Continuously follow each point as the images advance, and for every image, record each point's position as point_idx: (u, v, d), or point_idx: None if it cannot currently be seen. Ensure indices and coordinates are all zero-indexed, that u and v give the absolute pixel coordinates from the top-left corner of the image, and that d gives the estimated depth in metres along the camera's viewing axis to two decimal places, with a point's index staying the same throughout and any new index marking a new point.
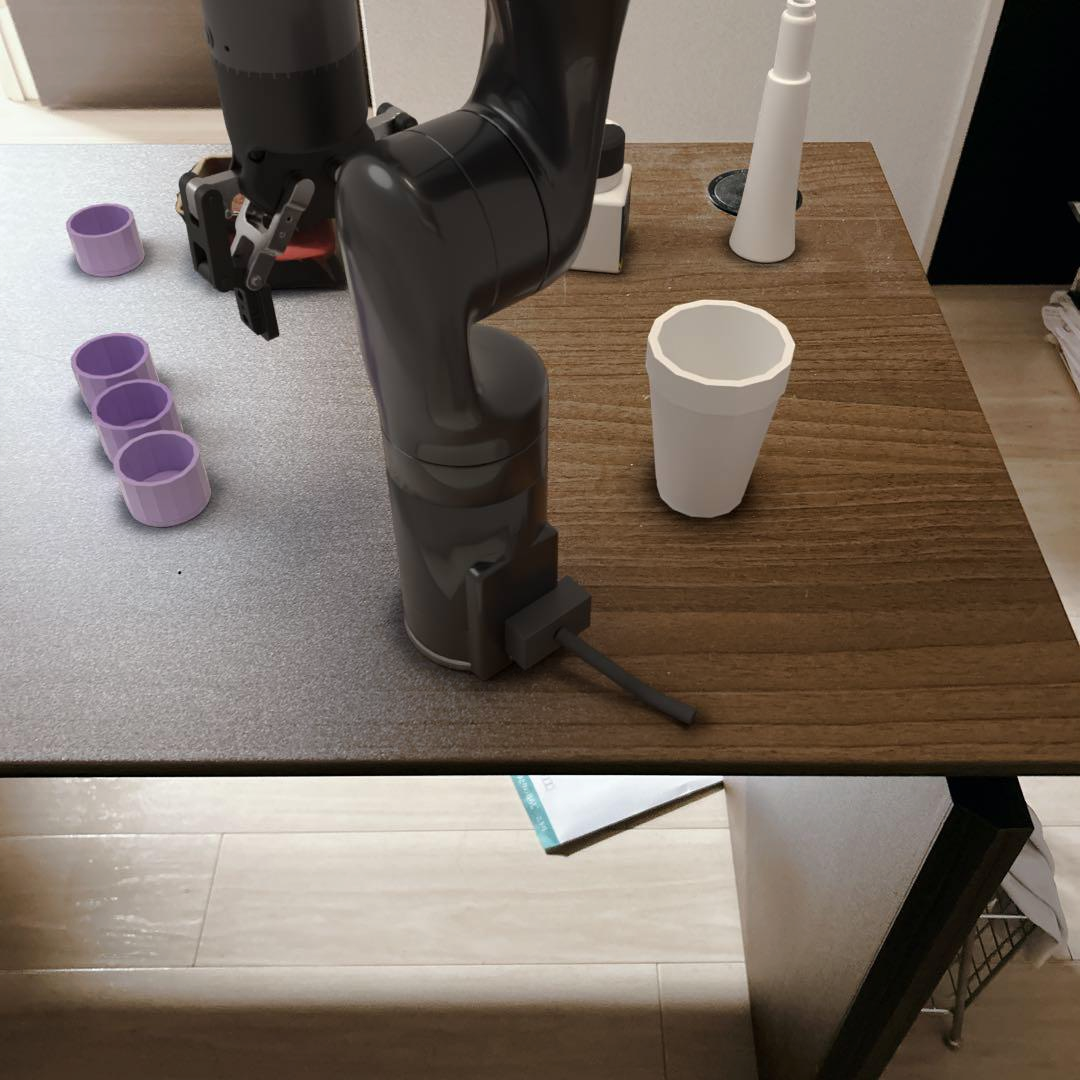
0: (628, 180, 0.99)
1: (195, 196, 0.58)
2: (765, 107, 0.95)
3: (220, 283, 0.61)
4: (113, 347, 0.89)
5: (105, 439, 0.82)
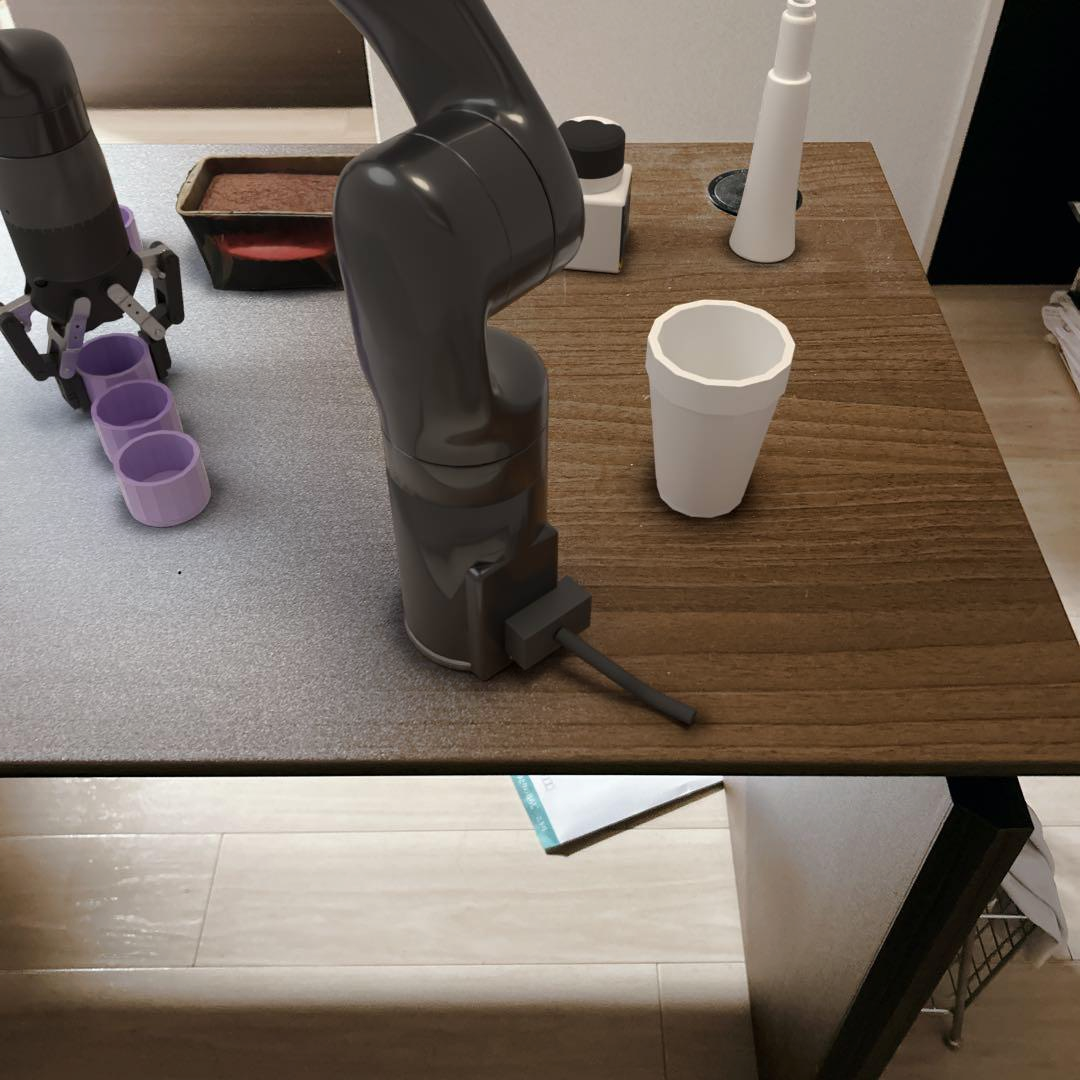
0: (628, 180, 0.99)
1: None
2: (765, 107, 0.95)
3: (37, 375, 0.82)
4: (113, 347, 0.89)
5: (105, 439, 0.82)
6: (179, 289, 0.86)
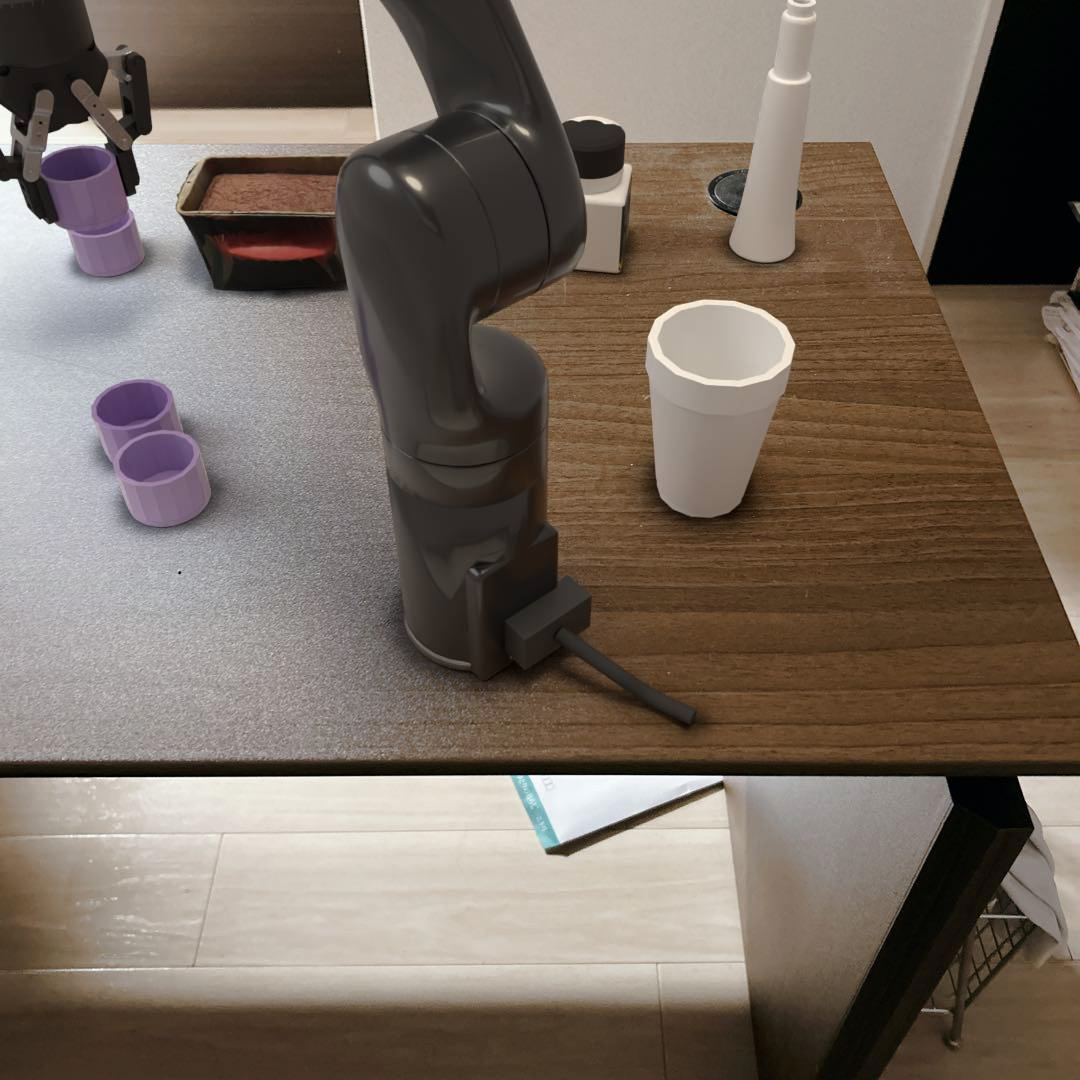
0: (628, 180, 0.99)
1: None
2: (765, 107, 0.95)
3: (0, 174, 0.81)
4: (80, 161, 0.87)
5: (105, 439, 0.82)
6: (146, 95, 0.84)
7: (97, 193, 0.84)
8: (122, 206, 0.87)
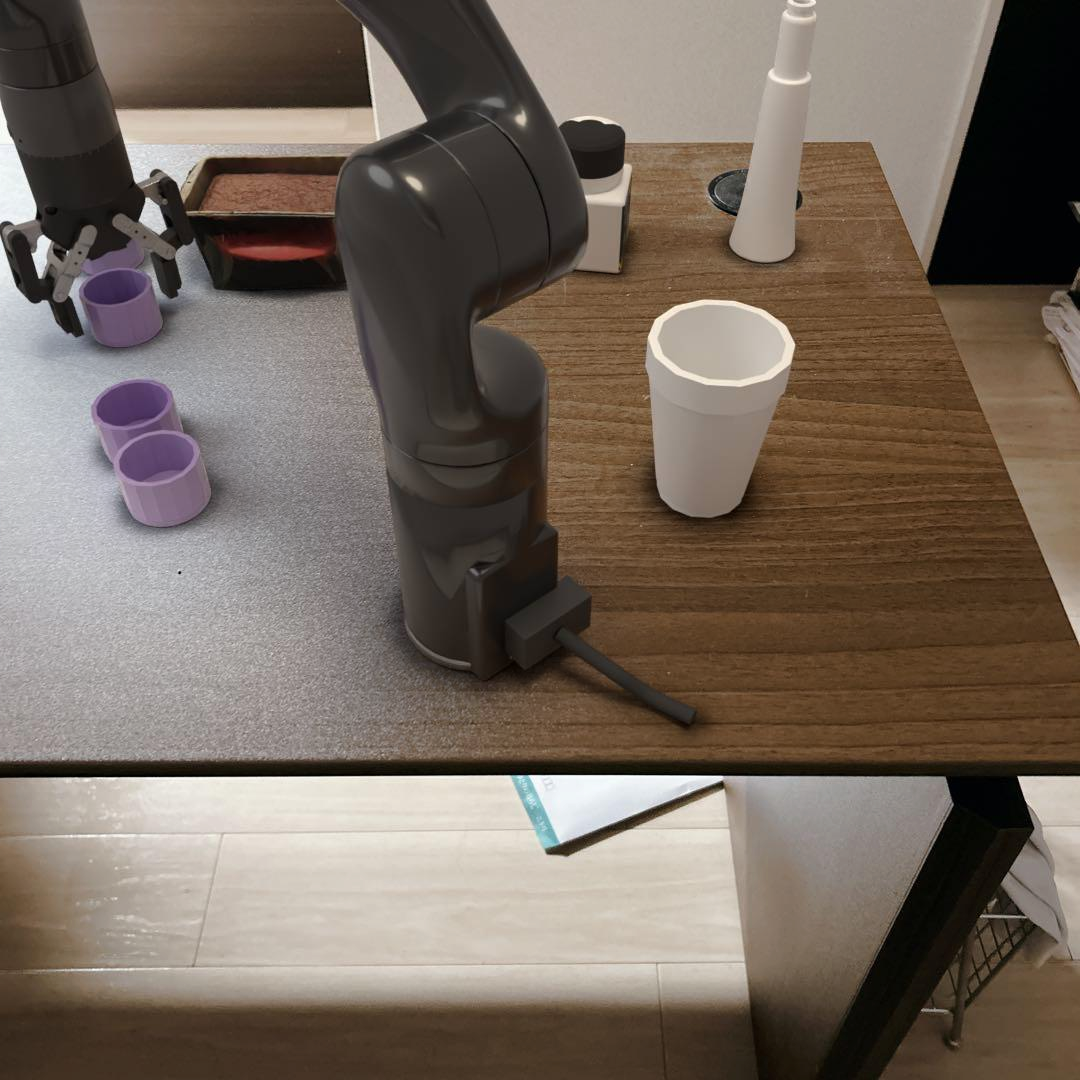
0: (628, 180, 0.99)
1: (7, 238, 0.84)
2: (765, 107, 0.95)
3: (32, 297, 0.87)
4: (118, 281, 0.95)
5: (105, 439, 0.82)
6: (183, 212, 0.92)
7: (135, 314, 0.92)
8: (157, 323, 0.95)
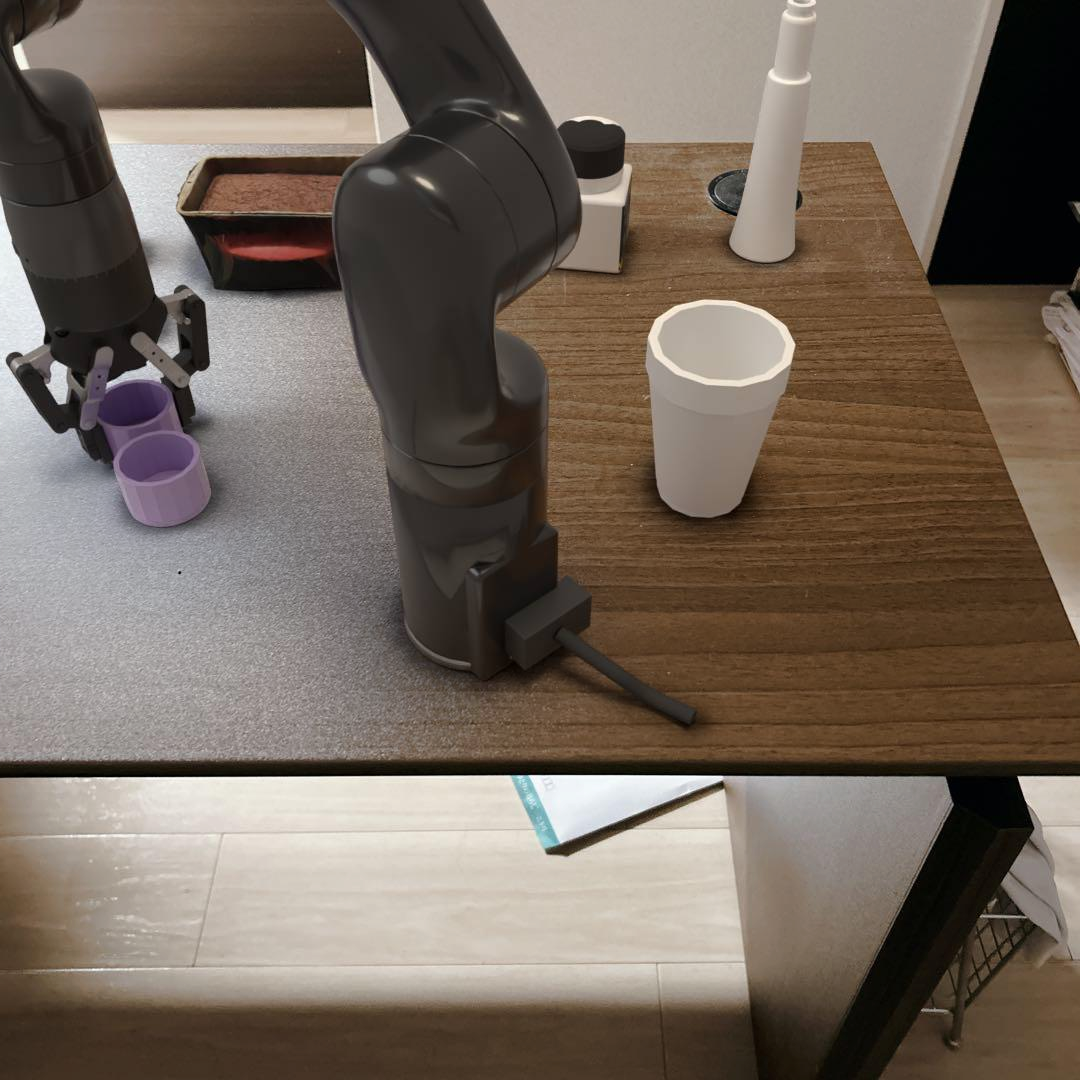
0: (628, 180, 0.99)
1: (16, 375, 0.75)
2: (765, 107, 0.95)
3: (57, 427, 0.78)
4: None
5: None
6: (205, 335, 0.82)
7: None
8: None
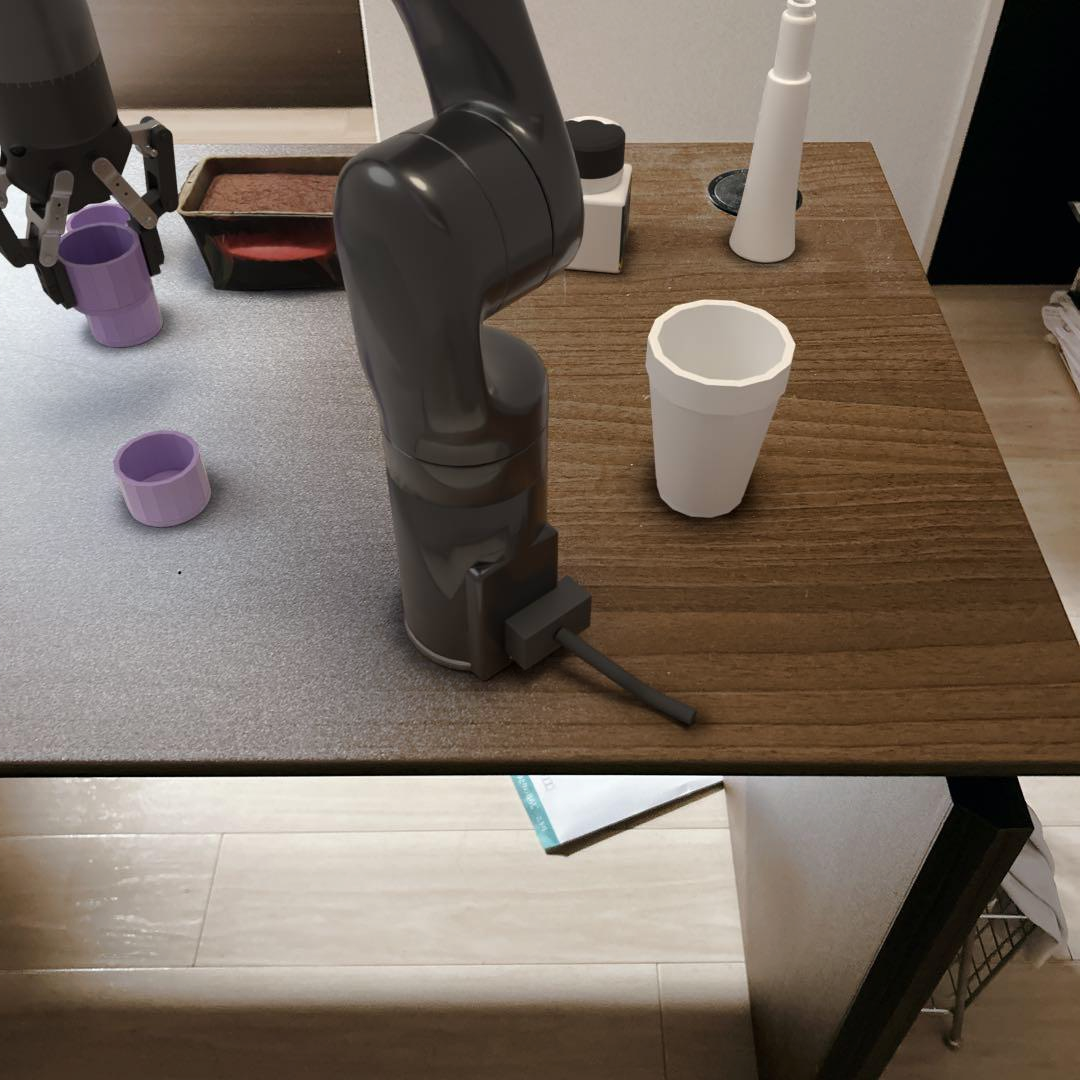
0: (628, 180, 0.99)
1: None
2: (765, 107, 0.95)
3: (14, 260, 0.74)
4: None
5: None
6: (173, 171, 0.78)
7: (135, 314, 0.92)
8: (157, 323, 0.95)
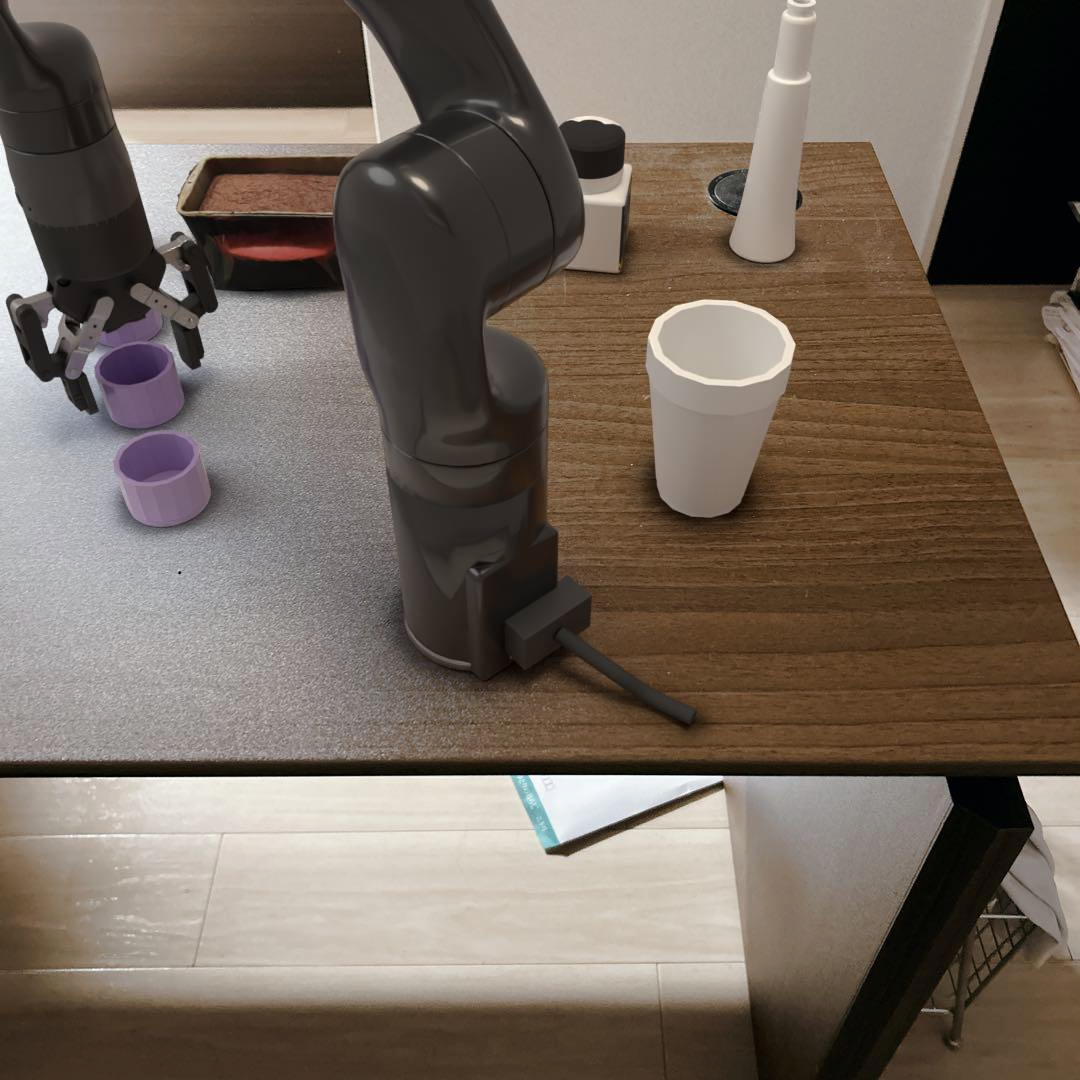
0: (628, 180, 0.99)
1: (16, 313, 0.77)
2: (765, 107, 0.95)
3: (42, 375, 0.80)
4: None
5: (108, 398, 0.85)
6: (207, 277, 0.84)
7: None
8: (157, 323, 0.95)
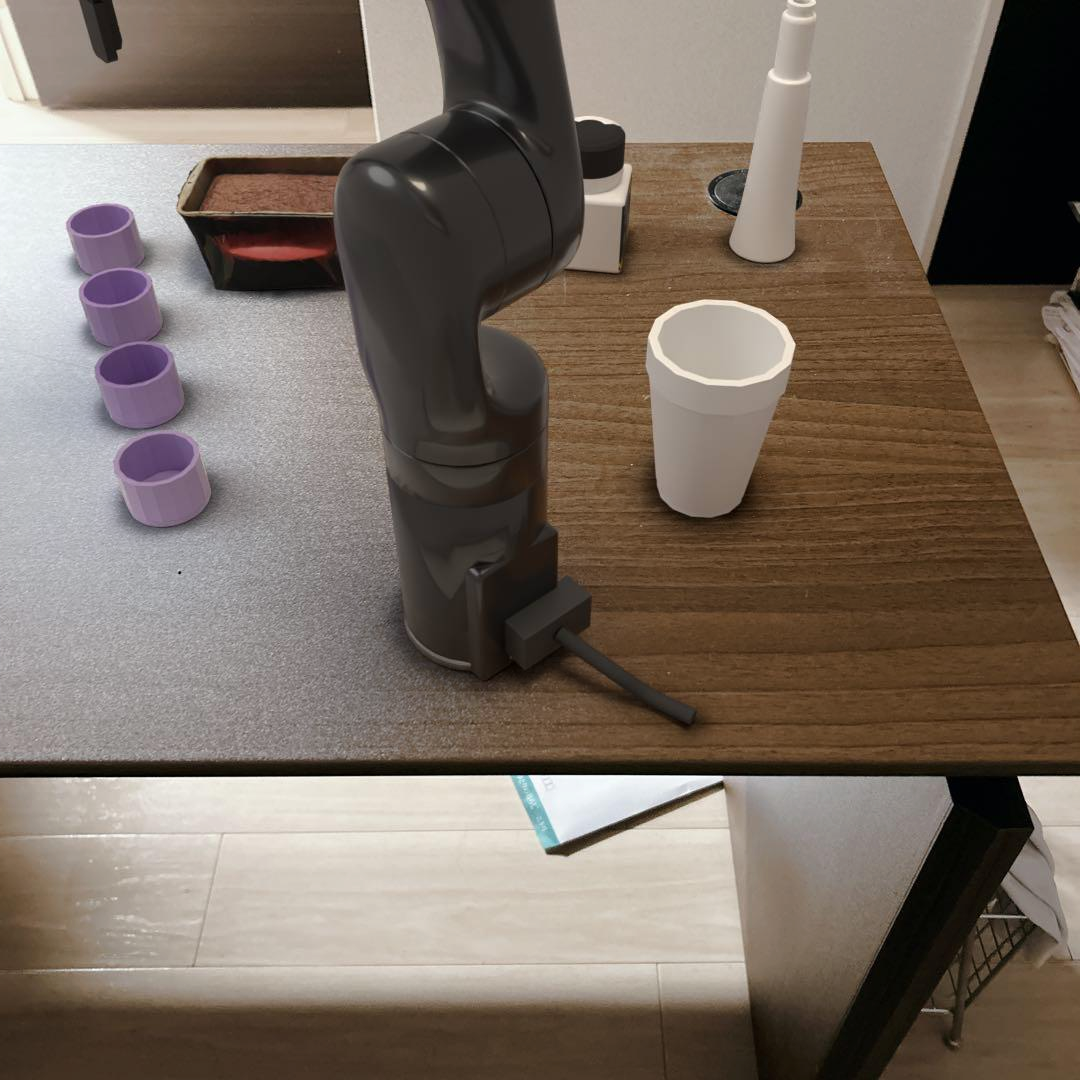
0: (628, 180, 0.99)
1: None
2: (765, 107, 0.95)
3: None
4: (118, 281, 0.95)
5: (108, 398, 0.85)
6: None
7: (135, 314, 0.92)
8: (157, 323, 0.95)
